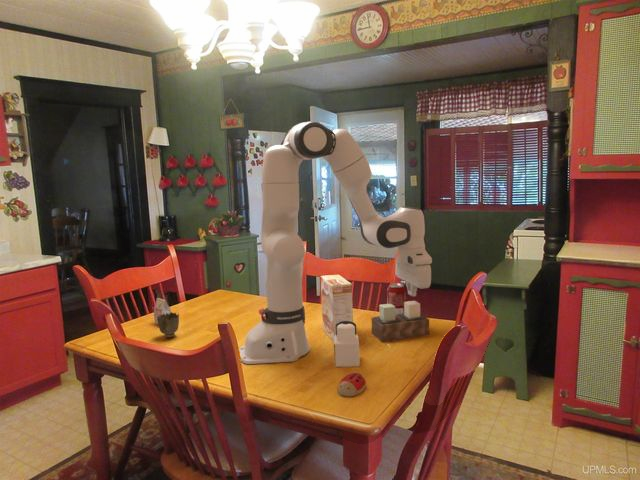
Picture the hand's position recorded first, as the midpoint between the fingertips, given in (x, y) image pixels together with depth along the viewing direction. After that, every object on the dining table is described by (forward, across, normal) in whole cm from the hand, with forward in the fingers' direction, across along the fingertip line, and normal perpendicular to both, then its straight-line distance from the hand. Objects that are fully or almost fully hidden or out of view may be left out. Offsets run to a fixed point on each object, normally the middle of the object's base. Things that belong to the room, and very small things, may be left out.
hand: (412, 295), depth 162 cm
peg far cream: (+9, 0, 0) cm, 9 cm away
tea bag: (+13, -42, -84) cm, 94 cm away
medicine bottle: (+13, +16, -29) cm, 35 cm away
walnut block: (+13, 0, -5) cm, 14 cm away
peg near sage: (+9, 0, -9) cm, 13 cm away
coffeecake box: (+13, -7, -25) cm, 29 cm away
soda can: (+13, -19, +2) cm, 23 cm away
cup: (+13, -26, -81) cm, 86 cm away
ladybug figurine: (+14, +33, -33) cm, 48 cm away
